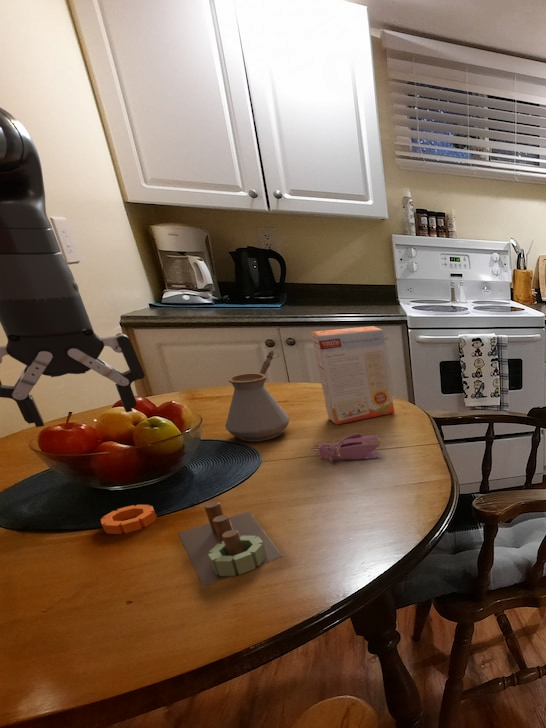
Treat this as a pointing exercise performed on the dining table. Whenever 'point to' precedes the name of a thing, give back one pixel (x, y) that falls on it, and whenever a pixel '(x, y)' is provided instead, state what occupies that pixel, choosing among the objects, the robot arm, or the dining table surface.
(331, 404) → the cracker box
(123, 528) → the orange grooved ring
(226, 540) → the rack
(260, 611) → the dining table surface
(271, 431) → the coffee pot
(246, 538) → the green ring
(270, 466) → the dining table surface
